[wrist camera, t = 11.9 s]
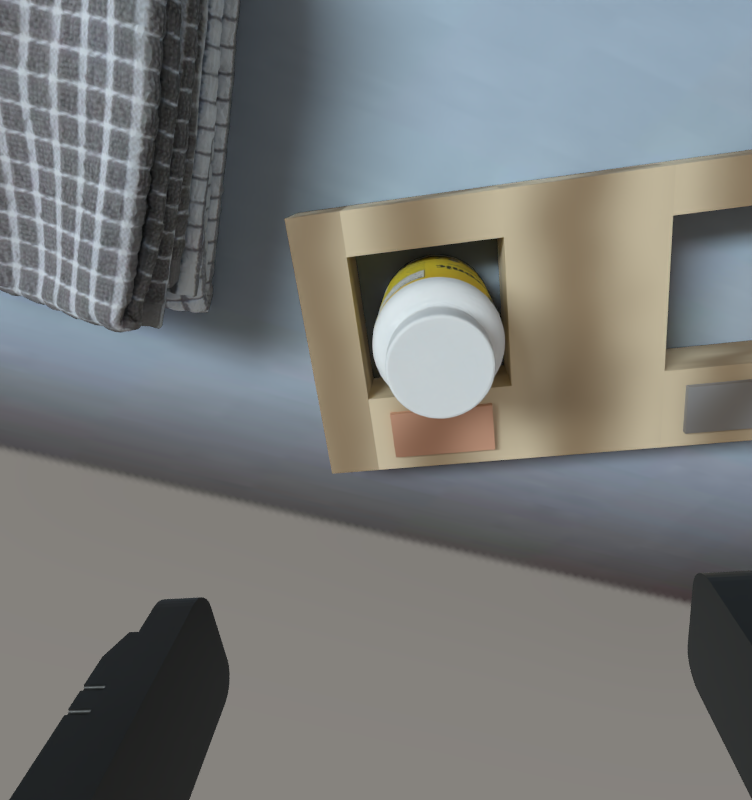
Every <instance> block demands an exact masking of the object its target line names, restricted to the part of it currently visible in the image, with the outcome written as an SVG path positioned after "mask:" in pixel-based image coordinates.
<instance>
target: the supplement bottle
mask: <svg viewBox="0 0 752 800" xmlns="http://www.w3.org/2000/svg"><path fill="white" fill-rule="evenodd" d="M372 347H373V356H374V360H375V363H376V366H377V368H378V371H379V373H380V375H381V376H382V378H383V380H384V381H385V382H386V383H387V385H388V386H389V387H390V389H391V391H392V393H393V394H394V396H395V397H396V399H397V400H398V401H399V402H400V403H401V404H402V405H403V406H404V407H406V408H407V409H409V410H410V411H412V412H414V413H416V414H418V415H421V416H425V417H428V418H437V419H445V418H451V417H455V416H459V415H461V414H464V413H466V412H468V411H470V410H471V409H473V408H474V407H475V406H477V405H478V404H479V403H480V402H481V401H482V400H483V399H484V397H485V396H486V395H487V393H488V392H489V390H490V388H491V386H492V383H493V380H494V377H495V375H496V373H497V372H498V370H499V367H500V365H501V362H502V359H503V355H504V350H505V334H504V328H503V324H502V321H501V318H500V315H499V312H498V311H497V309H496V307H495V305H494V303H493V301H492V299H491V297H490V295H489V292H488V290H487V288H486V286H485V284H484V282H483V281H482V279H481V278H480V276H479V275H478V274H477V273H476V272H475V270H474V269H472V268H471V267H470V266H469V265H468V264H466V263H464V262H463V261H461V260H459V259H456V258H454V257H450V256H445V255H429V256H424V257H421V258H418V259H416V260H413V261H411V262H410V263H408V264H406V265H405V266H404V267H402V268H401V269H400V270H399V271H398V272H397V273H396V274H395V276H394V277H393V278H392V280H391V281H390V283H389V284H388V286H387V288H386V291H385V294H384V297H383V300H382V304H381V307H380V310H379V313H378V317H377V320H376V323H375V326H374V331H373V340H372Z"/></svg>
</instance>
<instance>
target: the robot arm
mask: <svg viewBox="0 0 752 800" xmlns="http://www.w3.org/2000/svg"><path fill="white" fill-rule="evenodd" d="M688 659H689V665H690V669H691V673H692V677H693V680H694V683H695V686H696V688H697V690H698V692H699V694H700V696H701V698H702V700H703V702H704V704H705V706H706V708H707V710H708V712H709V714H710V716H711V718H712V720H713V722H714V724H715V726H716V728H717V730H718V732H719V734H720V736H721V738H722V740H723V742H724V744H725V746H726V748H727V750H728V752H729V754H730V756H731V758H732V760H733V762H734V764H735V766H736V768H737V770H738V772H739V774H740V776H741V778H742V780H743V782H744V784H745V786H746V788H747V790H748V792H749V794H750V796H751V798H752V571H732V572H713V573H699V574H697V575H696V576H695V578H694V581H693V590H692V602H691V615H690V625H689V637H688ZM228 689H229V665H228V660H227V657H226V654H225V651H224V648H223V644H222V641H221V638H220V635H219V631H218V628H217V625H216V622H215V619H214V616H213V612H212V609H211V606H210V604H209V602H208V601H207V599H205V598H184V599H164V600H161V601H159V602H158V603H157V604H156V605H155V606H154V608H153V609H152V611H151V613H150V614H149V616H148V618H147V619H146V621H145V623H144V624H143V626H142V627H141V629H140V631H139V632H129V633H128V634H127V635H126V636H125V637H124V638H123V639H122V640H120V641H119V642H118V643H117V644H116V645H115V646H114V647H113V648H112V649H111V650H110V651H108V652H107V653H106V654H105V655H104V656H103V657H102V659H101V660H100V661H99V663H98V664H97V666H96V668H95V669H94V671H93V672H92V674H91V675H90V677H89V678H88V680H87V681H86V683H85V684H84V690H83V691H80V692H79V694H78V695H77V697H76V698H75V700H74V701H73V703H72V704H71V706H70V708H69V713H68V715H65V716H64V717H63V718H62V720H61V721H60V723H59V724H58V726H57V727H56V729H55V731H54V732H53V734H52V735H51V737H50V738H49V740H48V741H47V743H46V744H45V746H44V747H43V749H42V750H41V752H40V754H39V755H38V757H37V758H36V760H35V761H34V763H33V764H32V766H31V767H30V769H29V770H28V772H27V773H26V775H25V777H24V778H23V780H22V781H21V783H20V784H19V786H18V787H17V789H16V791H15V792H14V793H13V795H12V797H11V798H10V800H189V799H190V796H191V793H192V791H193V788H194V785H195V782H196V780H197V777H198V775H199V772H200V769H201V767H202V764H203V761H204V758H205V756H206V753H207V750H208V748H209V745H210V742H211V740H212V737H213V734H214V731H215V729H216V726H217V723H218V721H219V718H220V716H221V712H222V710H223V707H224V705H225V702H226V698H227V695H228Z"/></svg>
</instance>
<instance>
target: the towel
mask: <svg viewBox="0 0 752 800" xmlns="http://www.w3.org/2000/svg"><path fill="white" fill-rule="evenodd" d="M239 9H240V0H0V290H2V291H4V292H6V293H9V294H11V295H15V296H23V297H25V298H27V299H29V300H31V301H33V302H36V303H40V304H43V305H45V304H46V305H47V306H48V307H49V308H51V309H53V310H58V311H63V312H64V313H66V314H67V315H69V316H71V317H73V318H75V319H81V320H84V321H86V322H89V323H92V324H94V325H100V326H104V327H105V328H107V329H108V330H112V331H115V332H124V331H131V330H136V329H139V328H140V327H141V326H151V327H155V328H158V329H159V328H161V327H162V325H163V317H164V311H165V308H169V309H172V310H175V311H186V310H187V311H190V312H194V313H198V312H200V313H202V312H208V311H209V308H210V303H211V299H212V296H213V294H212V293H213V286H212V278H213V275H214V268H215V257H216V245H217V236H218V234H219V232H218V226H219V219H220V212H221V197H222V194H223V192H224V186H223V180H224V172H225V164H226V154H227V142H228V132H229V124H230V109H231V101H232V89H233V84H234V74H235V72H234V63H235V53H236V34H237V27H238V19H239Z"/></svg>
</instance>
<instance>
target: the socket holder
mask: <svg viewBox="0 0 752 800" xmlns="http://www.w3.org/2000/svg"><path fill="white" fill-rule="evenodd" d="M744 206H752V150H745V151H738V152H731V153H724V154H717V155H709V156H702V157H695V158H688V159H681V160H673V161H666V162H659V163H652V164H645V165H638V166H630V167H623V168H616V169H609V170H602V171H595V172H587V173H580V174H573V175H566V176H559V177H551V178H544V179H537V180H530V181H523V182H516V183H508V184H501V185H494V186H487V187H480V188H473V189H465V190H458V191H451V192H444V193H437V194H430V195H422V196H415V197H408V198H401V199H394V200H386V201H379V202H372V203H365V204H358V205H351V206H343V207H336V208H329V209H322V210H315V211H308V212H300V213H297V214H294V215H292V216H290V217H288V218H285V219H284V220H285V225H286V230H287V236H288V241H289V246H290V252H291V257H292V262H293V267H294V273H295V278H296V283H297V289H298V294H299V299H300V305H301V310H302V315H303V320H304V326H305V331H306V336H307V342H308V347H309V352H310V358H311V363H312V368H313V374H314V379H315V384H316V389H317V395H318V400H319V405H320V411H321V416H322V421H323V427H324V432H325V437H326V442H327V448H328V453H329V458H330V464H331V469H332V474H333V473H345V472H358V471H371V470H383V469H396V468H408V467H421V466H433V465H446V464H458V463H471V462H484V461H496V460H509V459H521V458H534V457H546V456H559V455H572V454H584V453H597V452H609V451H622V450H634V449H647V448H659V447H672V446H685V445H697V444H710V443H722V442H735V441H747V440H752V340H751V341H741V342H731V343H721V344H711V345H701V346H691V347H681V348H671V349H666V336H667V318H668V300H669V281H670V263H671V245H672V226H673V216H674V215H682V214H689V213H697V212H705V211H713V210H721V209H728V208H736V207H744ZM494 238H497V247H498V265H499V282H500V300H501V318H502V324H503V328H504V334H505V350H504V365H501V366H500V367H499V370H498V372H497V373H496V375H495V377H494V380H493V383H492V386H491V388H490V390H489V392H488V393H487V395H486V396H485V397H484V399H483V400H482V401H481V402H480V403H479V404H478V405H477V406H475V407H474V408H473V409H471V410H470V411H468V412H466V413H464V414H461V415H459V416H455V417H451V418H445V419H437V418H428V417H425V416H421V415H418V414H416V413H414V412H412V411H410V410H409V409H407V408H406V407H404V406H403V405H402V404H401V403H400V402H399V401H398V400H397V399H396V397H395V396H394V394H393V393H392V391H391V389H390V387H389V386H388V385H387V383H386V382H385V381H384V380H383V378H382V377H381V378H373V371H372V364H371V358H370V351H369V344H368V337H367V331H366V324H365V317H364V310H363V303H362V297H361V290H360V283H359V276H358V270H357V263H356V256H361V255H369V254H377V253H384V252H392V251H400V250H408V249H416V248H423V247H431V246H439V245H447V244H455V243H463V242H470V241H478V240H486V239H494Z"/></svg>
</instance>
